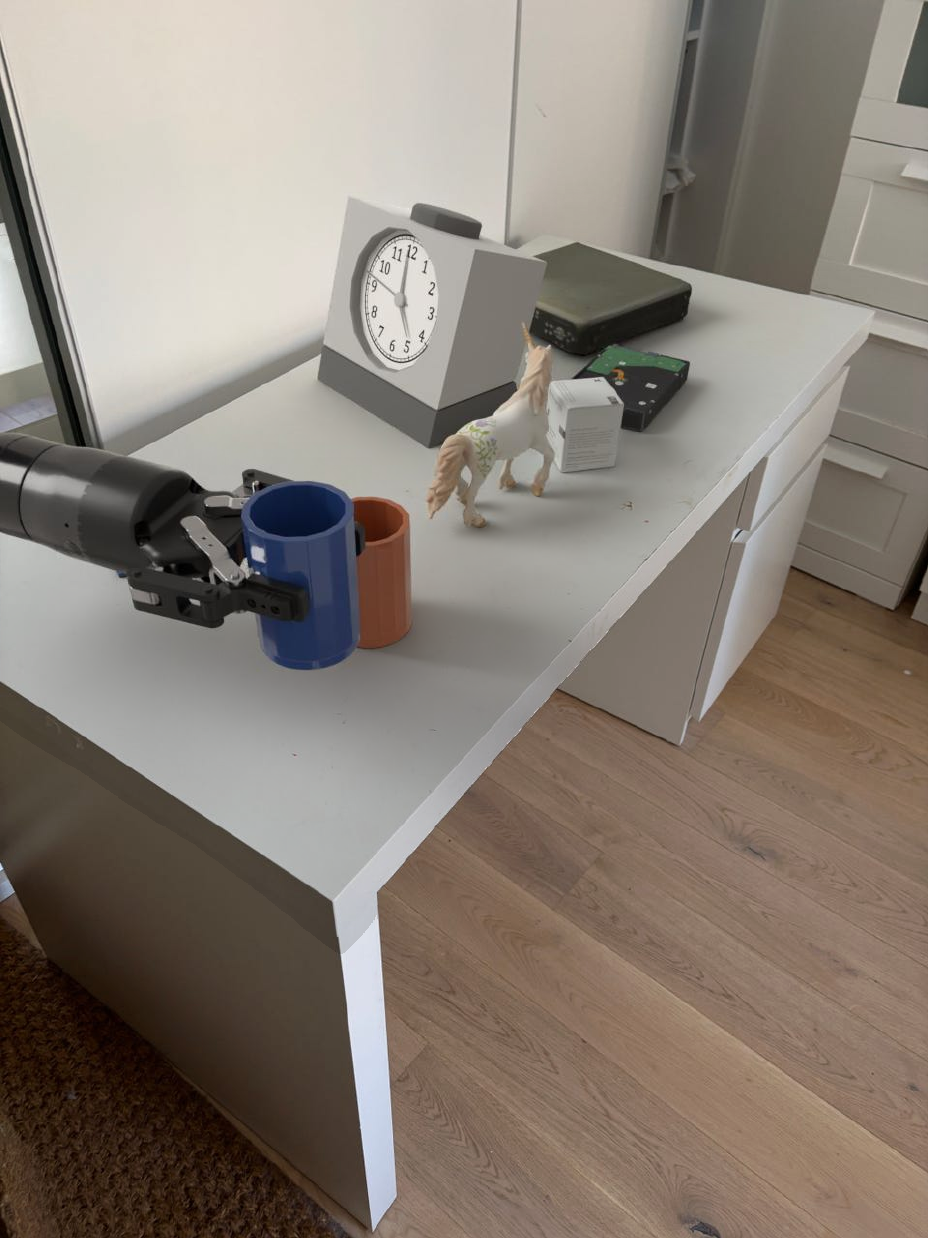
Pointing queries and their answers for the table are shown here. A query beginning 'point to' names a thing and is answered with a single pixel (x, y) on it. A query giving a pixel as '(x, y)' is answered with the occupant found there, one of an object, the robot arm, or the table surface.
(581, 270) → the network switch
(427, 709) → the table surface
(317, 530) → the blue cup
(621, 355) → the disk drive
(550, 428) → the product carton
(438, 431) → the alarm clock
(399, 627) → the terracotta cup
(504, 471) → the unicorn figurine
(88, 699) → the table surface
